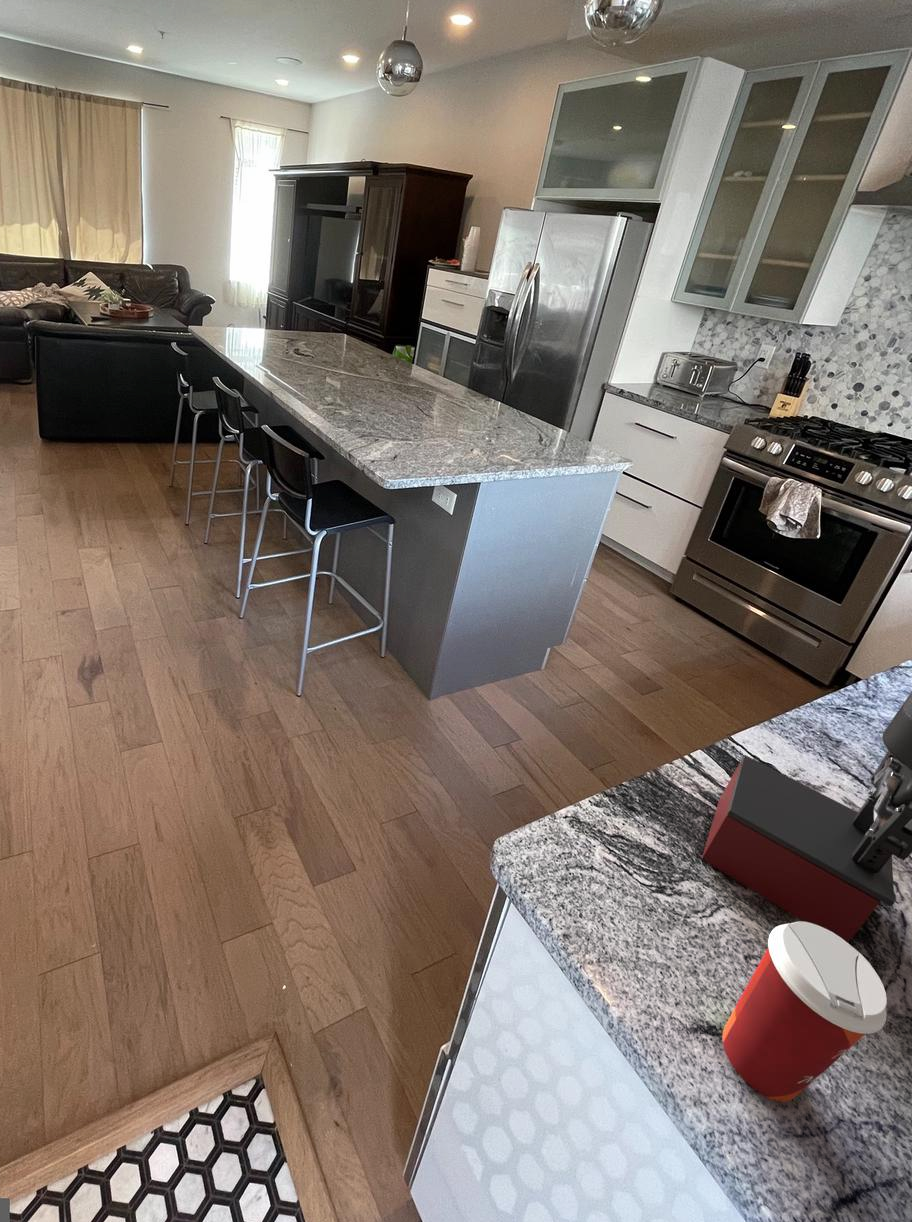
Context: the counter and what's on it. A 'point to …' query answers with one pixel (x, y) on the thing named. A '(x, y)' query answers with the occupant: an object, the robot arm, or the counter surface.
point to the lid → (806, 825)
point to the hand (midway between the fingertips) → (863, 846)
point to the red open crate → (784, 874)
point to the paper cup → (802, 1010)
